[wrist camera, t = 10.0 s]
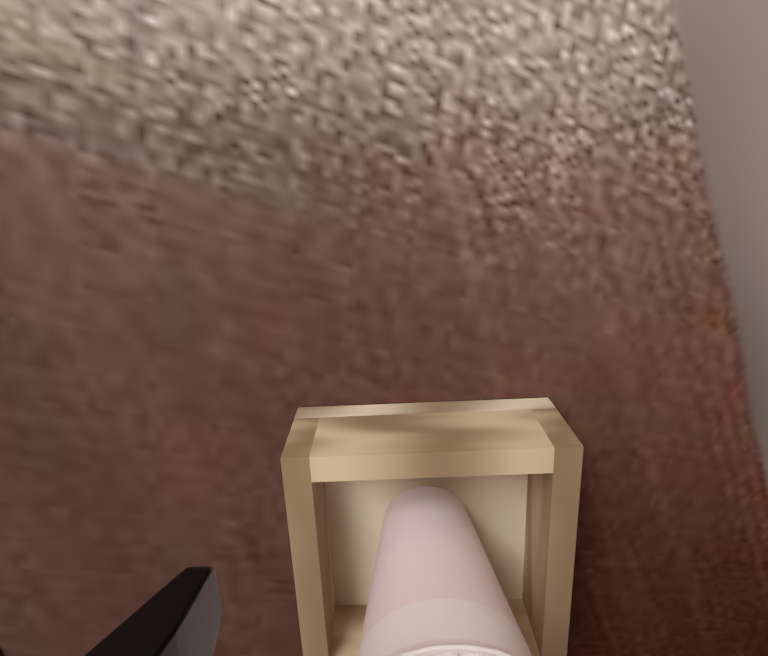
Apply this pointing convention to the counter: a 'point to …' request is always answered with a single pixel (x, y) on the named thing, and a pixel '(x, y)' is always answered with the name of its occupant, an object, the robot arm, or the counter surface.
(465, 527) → the smoothie
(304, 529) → the tray
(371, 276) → the counter surface
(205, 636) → the robot arm
